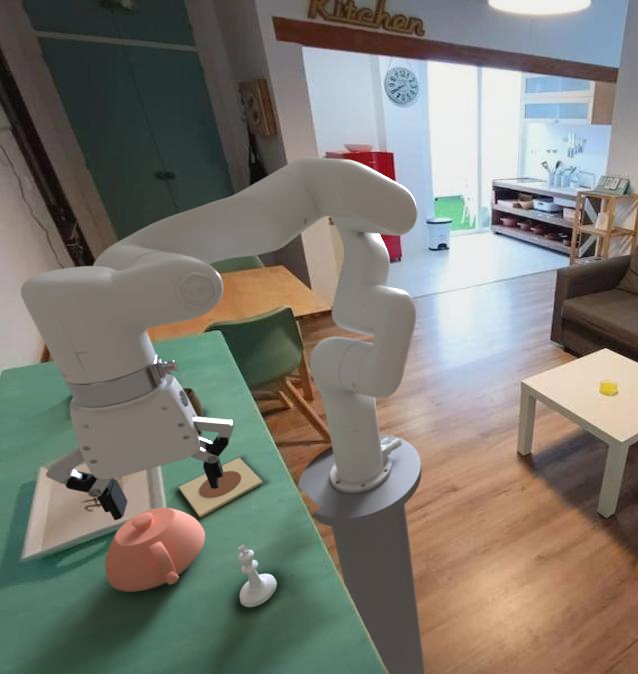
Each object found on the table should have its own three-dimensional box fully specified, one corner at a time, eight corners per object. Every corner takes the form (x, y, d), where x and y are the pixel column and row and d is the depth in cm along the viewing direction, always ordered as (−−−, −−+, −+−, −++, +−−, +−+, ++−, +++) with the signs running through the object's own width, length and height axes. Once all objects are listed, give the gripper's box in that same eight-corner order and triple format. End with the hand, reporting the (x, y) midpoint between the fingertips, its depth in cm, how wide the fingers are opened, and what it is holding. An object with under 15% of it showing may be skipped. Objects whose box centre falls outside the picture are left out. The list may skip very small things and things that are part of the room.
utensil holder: (209, 409, 106) (194, 368, 101) (193, 425, 100) (178, 382, 95) (184, 410, 106) (169, 369, 101) (168, 425, 100) (150, 382, 95)
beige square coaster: (239, 459, 90) (238, 456, 90) (263, 483, 84) (262, 480, 84) (179, 489, 82) (178, 486, 82) (200, 517, 76) (199, 515, 76)
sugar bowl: (195, 520, 76) (177, 477, 71) (224, 566, 68) (206, 520, 63) (106, 567, 67) (79, 522, 63) (127, 626, 59) (99, 579, 55)
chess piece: (254, 612, 61) (236, 567, 57) (232, 598, 63) (213, 553, 59) (283, 583, 65) (269, 539, 61) (262, 571, 67) (246, 527, 63)
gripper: (214, 349, 53) (248, 455, 60) (21, 385, 44) (88, 502, 52) (211, 376, 47) (250, 489, 54) (-11, 423, 39) (69, 548, 46)
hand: (170, 495), depth 53 cm, fingers open, 9 cm apart
